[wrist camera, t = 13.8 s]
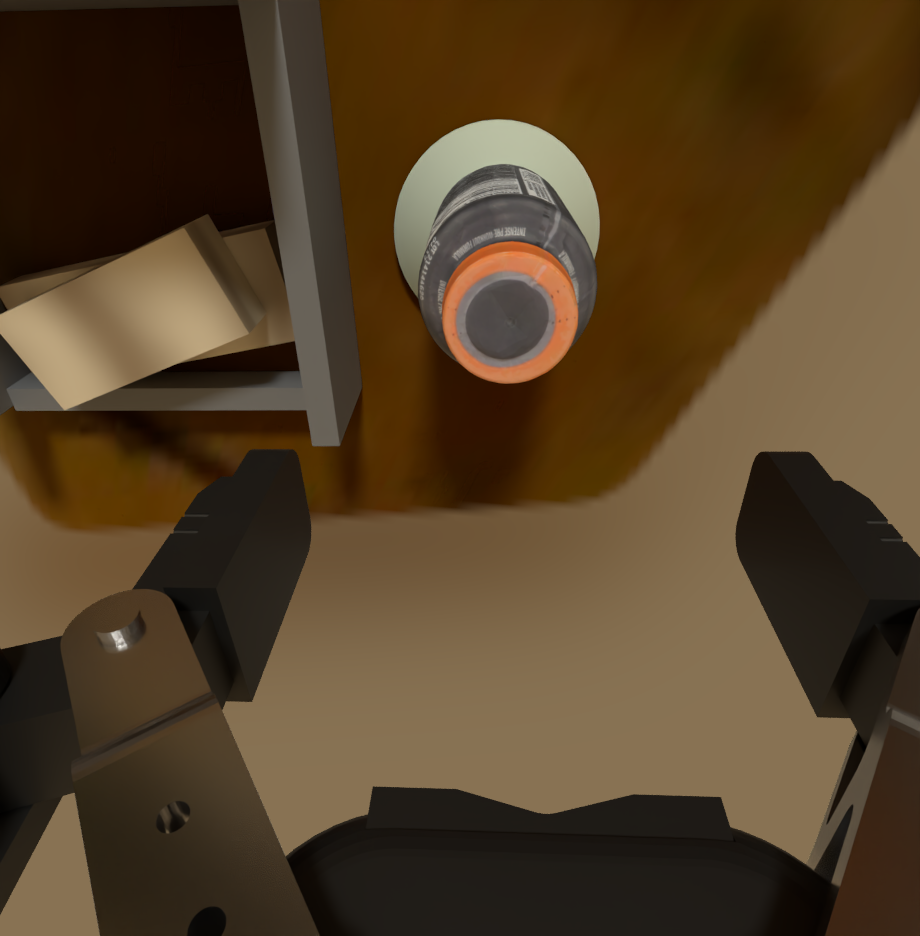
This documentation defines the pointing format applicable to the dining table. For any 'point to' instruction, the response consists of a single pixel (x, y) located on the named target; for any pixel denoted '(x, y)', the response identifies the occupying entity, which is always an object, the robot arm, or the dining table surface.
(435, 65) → the dining table surface
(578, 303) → the pill bottle
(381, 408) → the dining table surface
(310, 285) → the frame
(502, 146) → the coaster
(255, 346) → the offcut lower
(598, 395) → the dining table surface
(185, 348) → the offcut upper
